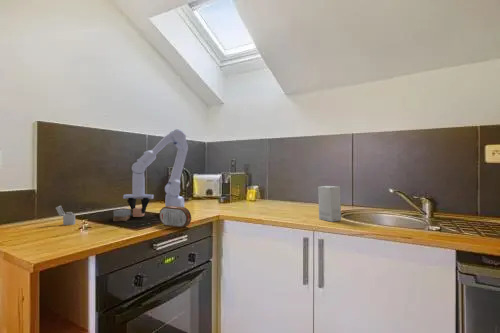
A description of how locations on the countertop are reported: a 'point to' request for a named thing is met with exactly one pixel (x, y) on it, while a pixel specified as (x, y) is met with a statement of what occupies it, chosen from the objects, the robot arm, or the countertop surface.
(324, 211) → the skincare box
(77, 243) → the countertop surface
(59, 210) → the lighter
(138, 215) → the terracotta cube
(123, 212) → the charcoal slab
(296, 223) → the countertop surface
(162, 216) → the tin
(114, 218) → the walnut slab
